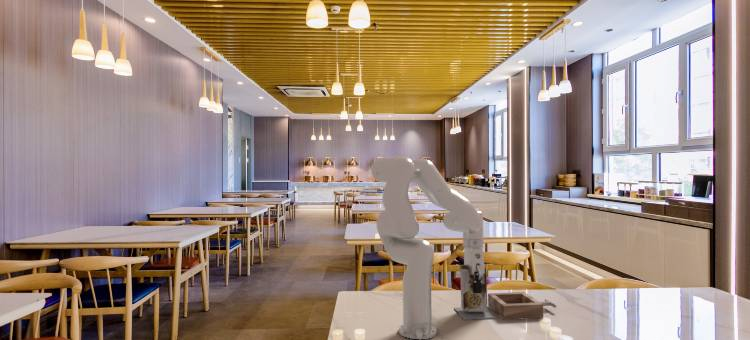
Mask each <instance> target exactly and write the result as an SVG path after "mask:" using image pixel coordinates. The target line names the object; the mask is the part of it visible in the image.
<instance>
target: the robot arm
mask: <svg viewBox="0 0 750 340" xmlns="http://www.w3.org/2000/svg"><path fill="white" fill-rule="evenodd" d="M370 169H371V171H370V172H371V175H372V178H373V179H374V180H375V181H376V182H379V183H384V184H385V185H384V189H383V190H382V191H383V193H382V204H383V207H384V209H383V210H381V212H379V214H378V215H377V218H376V230H377V232H378V235H379V238H380V240H381V242H382V244H383V245H382V246H383V247H384V249H385V251H386V254H387V255H388V257H389V258H390V259H391V261H393V262H396V263H398V264H402V265H405V266H406V269H405V271H404V273H403V276H402V319H403V320H402V325H400V326H399V327H398V334H399V333H400V334H399V335H400V336H401V337H403V336H404V337H403V338H405V337H407V338H406V339H408V338H410V339H409V340H412V339H419V340H421V339H425V340H430V339H432V338H434V337H435V336H436V335H437V328H436V327H435V326H434V325H432V323H433V322H432V321H433V319H432V315H433V314H432V268H433V263H434V259H435V257H434V256H435V251H434V247H433V245H432V244H431V243H430V242H429V241H427V240H425V239H423V238H418V237H417V236H418V234H419V232H420V224H419V221H418V218H417V215H416V213H415V211H414V209H413V206H412V204H411V200H410V197H409V189H410V184H417V186H418V187H419V189H420V190H421V191H422V192H423V194H424V195H425V197H426V198H427V199H428V201H429V202H430V203H431V204H433V205H435V206H436V207H439V208H441V209H444V210H446V211H447V212H446V213H445V215H444V216H443V218H442V219H443V220H442V221H443V226H444V227H445V228H446V229H447V230H449V231H452V232H458V233H459V232H461V233H462V247H463V248H464V250H463V251H464V252H463V253H464V254H463V265H466V266H467V267H468V268H469V269H470V272H471V274H472V275H473V280H474V282H473V293H482V276H483V275H484V273H485V269H484V267H485V255H484V249H483V248H484V215H483V212H482V211H481V210H477V209H476V207H475V206H474V205H473V204H472V202H470V200H469V199H468V198H466V197H465V196H463V195H461V194H460V193H459V192H457V191H456V190H454V189H453V188H451V187H450V186H449V185H448V183H447V181H446V179H444V177H443V176H442V174H441V173H440V172H439V170H438V169H437V167H436V166H435V165H434V163H433V162H432V161H431V160H429V159H426V158H412V159H411V158H409V157H406V156H391V157H390V156H387V157H380V158H377V159H376V160H374V161H373V163H372V165H371V167H370ZM474 272H478V274H475V273H474ZM475 276H477V277H476V278H475ZM429 338H430V339H429Z"/></svg>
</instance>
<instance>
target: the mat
mask: <svg viewBox="0 0 750 340" xmlns="http://www.w3.org/2000/svg"><path fill="white" fill-rule="evenodd" d="M453 309H454V311H455V310H456V311H457V312H458V313H459V314H458V313H457V312H456V311H455V312H456V313H457V314H458V315H459V317H461V318H463V319H464V320H463V319H462V320H463V321H473V320H472V319H477V320H491V319H492V320H495V318H497V316H495V315H494V314H493V313H492V312H490V311H489V310H488V311H487V312H464V311H463V309H462V307H458V306H456V307H453Z"/></svg>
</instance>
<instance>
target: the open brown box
mask: <svg viewBox="0 0 750 340" xmlns="http://www.w3.org/2000/svg"><path fill="white" fill-rule="evenodd" d="M545 306H546V307H549V306H550V307H553V308H554V309H555V308H557V304H555V303H554V302H552V301H550V300H549V299H546V298H545V299H544V301H539V300H537V299H536V298H534V297H533V296H532V295H529V294H528V293H526V292H525V291H516V292H515V291H514V292H489V293H488V292H487V307H489V308H490V307H491V308H492V309H493V310H494V311H493V310H492V309H491V308H490V309H491V310H492V311H493V312H495V313H496V314H497V316H499V315H500V316H501V317H502V320H504V319H509V320H520V319H519V318H529V319H540V318H539V317H543V318H544V307H545ZM500 316H499V317H500ZM501 317H500V318H501Z"/></svg>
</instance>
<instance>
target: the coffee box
mask: <svg viewBox="0 0 750 340" xmlns="http://www.w3.org/2000/svg"><path fill="white" fill-rule="evenodd" d="M484 269H485V273H484V275H483V276H482V293H473V282H474V280H473V275H472V274H471V272H470V269H469V268H468V267H467V266H466V265H464V264H460V266H459V270H460V275H459V276H460V300H461V301H460V302H461V303H460V305H461V307H462V309H463V311H464V312H487V311H489V309H488V307H489V306H488V288H487V287H488V285H487V284H488V283H487V282H488V281H487V268H486V267H485V266H484ZM474 273H475V274H478V272H474ZM476 277H477V276H475V278H476Z"/></svg>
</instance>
